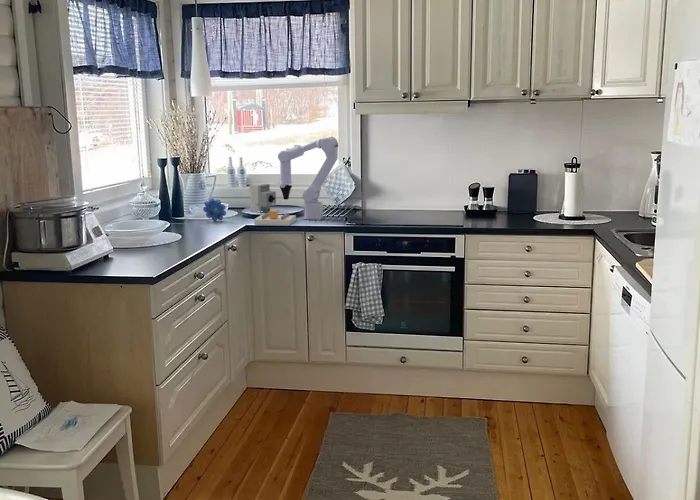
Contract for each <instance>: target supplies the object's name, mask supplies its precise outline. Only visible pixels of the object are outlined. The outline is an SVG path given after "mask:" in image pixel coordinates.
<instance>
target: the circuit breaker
mask: <svg viewBox="0 0 700 500" xmlns="http://www.w3.org/2000/svg"><path fill="white" fill-rule="evenodd" d="M270 185H271V184H270V183H266V182H265V183H263V182H258V183H251V184H249V188H248V189H249V193H250V203H249V209H250V210H249V211H250V212H252V211H260V212H261V211H267V212H269V211H268V210H271V207H273V206H276V205H277V194H276V193H277V192H276V191H274V190H271V188H270Z"/></svg>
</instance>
